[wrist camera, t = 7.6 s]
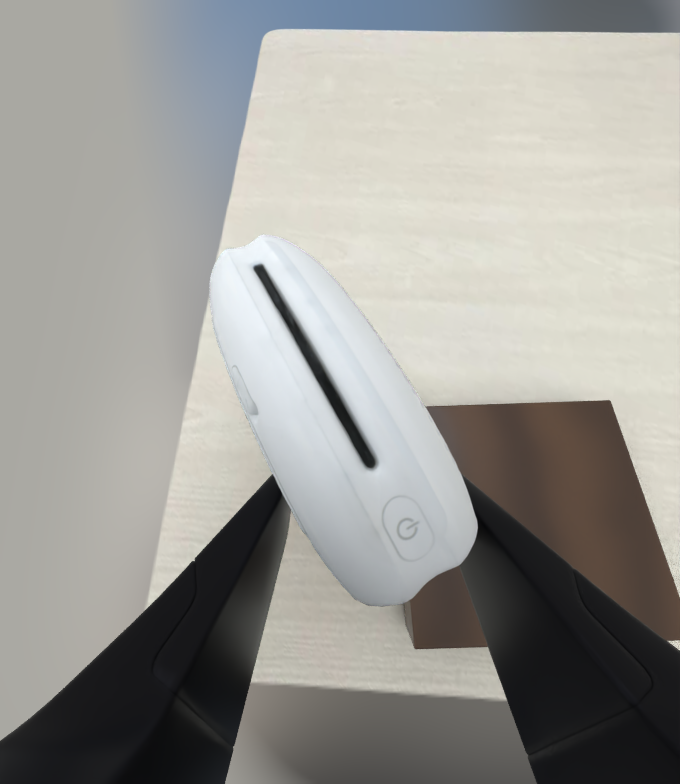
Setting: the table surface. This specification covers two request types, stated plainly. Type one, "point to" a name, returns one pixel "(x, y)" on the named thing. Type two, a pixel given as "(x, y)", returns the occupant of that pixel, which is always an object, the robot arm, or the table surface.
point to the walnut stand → (552, 510)
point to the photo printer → (339, 424)
